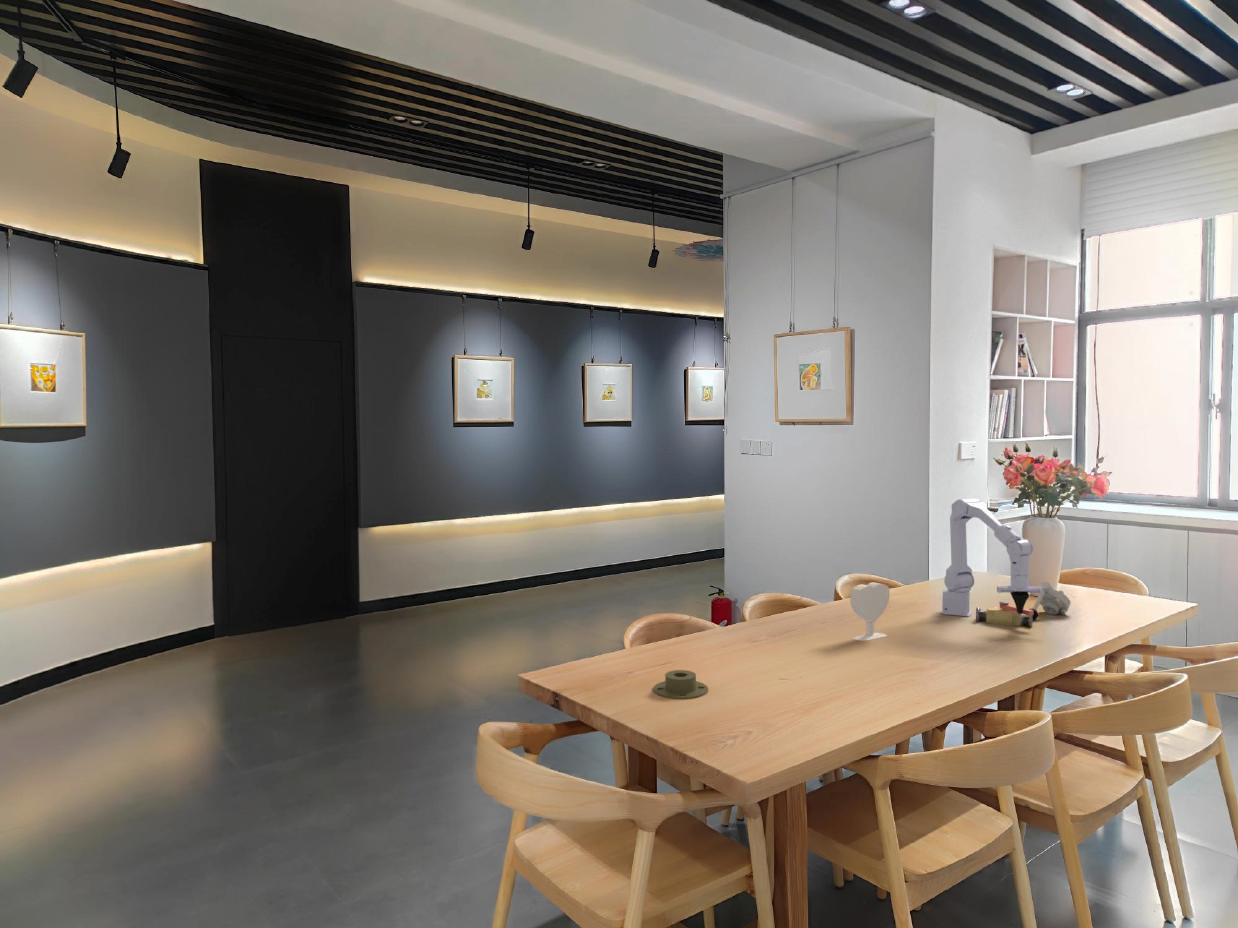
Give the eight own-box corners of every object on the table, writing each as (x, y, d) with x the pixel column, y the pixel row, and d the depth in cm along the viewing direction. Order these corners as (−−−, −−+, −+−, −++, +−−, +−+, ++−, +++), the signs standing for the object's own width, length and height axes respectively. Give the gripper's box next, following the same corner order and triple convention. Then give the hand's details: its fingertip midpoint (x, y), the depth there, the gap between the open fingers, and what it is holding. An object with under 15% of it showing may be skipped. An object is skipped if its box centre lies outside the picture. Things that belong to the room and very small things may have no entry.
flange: (703, 665, 230) (651, 667, 230) (711, 682, 215) (655, 684, 215) (704, 681, 231) (651, 683, 230) (711, 699, 216) (655, 701, 215)
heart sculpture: (879, 631, 281) (879, 580, 280) (891, 634, 276) (891, 582, 276) (848, 638, 273) (848, 585, 272) (859, 641, 268) (859, 588, 267)
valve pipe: (975, 625, 292) (975, 608, 292) (977, 621, 297) (977, 604, 297) (1031, 630, 283) (1031, 613, 283) (1032, 627, 288) (1032, 609, 288)
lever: (997, 607, 290) (997, 602, 290) (1003, 607, 292) (1003, 601, 292) (1028, 615, 278) (1028, 609, 278) (1034, 614, 280) (1034, 608, 280)
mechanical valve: (1076, 606, 301) (1059, 579, 296) (1058, 643, 293) (1041, 616, 288) (1048, 604, 310) (1032, 577, 304) (1030, 640, 302) (1013, 613, 297)
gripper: (1001, 576, 278) (1001, 615, 278) (1046, 576, 275) (1046, 616, 276) (994, 572, 285) (994, 610, 285) (1038, 573, 282) (1038, 611, 283)
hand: (1019, 613), depth 281 cm, fingers closed
